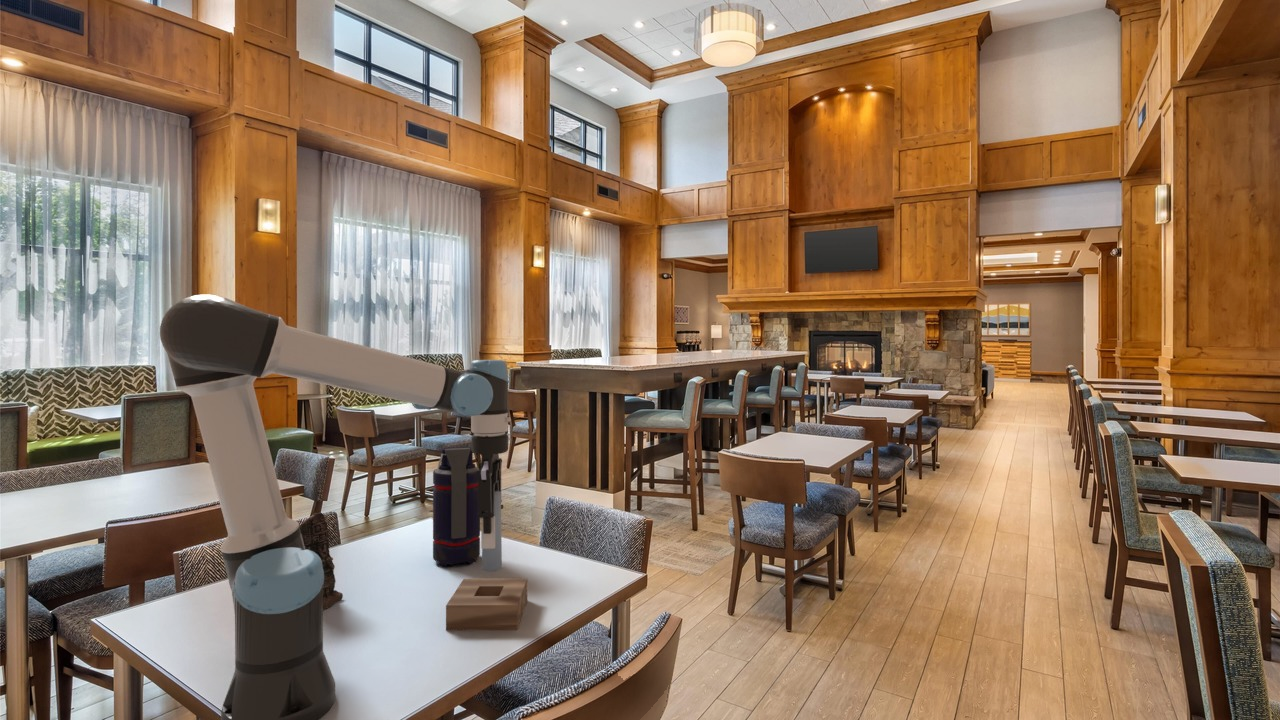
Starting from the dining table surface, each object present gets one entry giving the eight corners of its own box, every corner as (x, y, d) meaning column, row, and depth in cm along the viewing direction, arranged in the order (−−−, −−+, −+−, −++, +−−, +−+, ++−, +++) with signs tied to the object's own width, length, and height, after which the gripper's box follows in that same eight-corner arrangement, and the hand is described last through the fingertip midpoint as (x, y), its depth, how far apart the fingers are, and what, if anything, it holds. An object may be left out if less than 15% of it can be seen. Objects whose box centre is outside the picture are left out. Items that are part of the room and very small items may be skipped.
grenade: (432, 555, 163) (432, 444, 163) (477, 550, 167) (478, 442, 167) (433, 573, 150) (434, 453, 150) (483, 567, 154) (483, 450, 154)
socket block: (516, 629, 121) (517, 604, 121) (445, 630, 120) (446, 605, 120) (527, 600, 135) (527, 578, 134) (463, 600, 134) (463, 578, 134)
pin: (499, 571, 125) (498, 495, 125) (480, 572, 125) (479, 495, 125) (503, 564, 129) (502, 490, 129) (484, 565, 129) (483, 490, 129)
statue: (321, 612, 128) (321, 518, 127) (292, 609, 129) (292, 515, 129) (344, 599, 134) (344, 509, 134) (316, 596, 136) (315, 507, 136)
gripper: (500, 439, 118) (501, 558, 119) (514, 427, 135) (515, 531, 136) (461, 439, 118) (462, 558, 119) (480, 427, 135) (481, 531, 136)
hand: (490, 543), depth 127 cm, fingers closed on pin, 4 cm apart
